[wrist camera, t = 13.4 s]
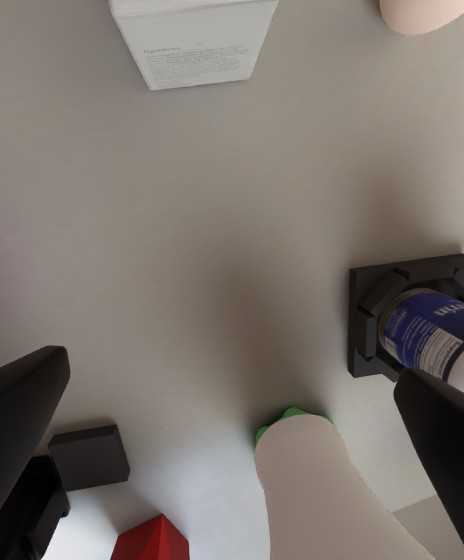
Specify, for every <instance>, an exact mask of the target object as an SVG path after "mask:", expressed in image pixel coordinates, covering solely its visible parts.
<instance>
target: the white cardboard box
mask: <svg viewBox="0 0 464 560" xmlns="http://www.w3.org/2000/svg"><path fill="white" fill-rule="evenodd" d="M278 2H279V0H108V4H109V8H110V11H111V14H112V16H113V18H114V19H115V21H116V24H117V26H118V28H119V30H120V32H121V34H122V36H123V38H124V40H125V42H126V44H127V46H128V48H129V50H130V52H131V54H132V56H133V59H134V60H135V62H136V64H137V67H138V69H139V71H140V72H141V74H142V76H143V78H144V80H145V82H146V84H147V86H148V88H149V90H151V91H155V90H162V89H170V88H177V87H186V86H195V85H204V84H213V83H221V82H229V81H238V80H245V79H249V78H250V76H251V73H252V71H253V68H254V65H255V63H256V60H257V58H258V55H259V52H260V49H261V47H262V44H263V41H264V39H265V36H266V33H267V31H268V28H269V25H270V23H271V20H272V17H273V14H274V12H275V9H276V7H277V4H278Z"/></svg>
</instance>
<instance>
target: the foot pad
mask: <svg viewBox="0 0 464 560" xmlns="http://www.w3.org/2000/svg"><path fill="white" fill-rule="evenodd" d="M416 288H426V289H431V290H434V291H437V292H439V293H442V294H444V295H447V296H449V297H451V298H454V299H456V300H459V301H461V302H463V303H464V254H455V255H448V256H440V257H433V258H426V259H419V260H411V261H404V262H397V263H390V264H382V265H375V266H368V267H361V268H353V269H350V298H349V349H348V371H349V373H350V374H351V375H352V376H353V377H354V378H358V377H364V376H370V375H376V374H383V375H385V376H386V377H387V378H388V379H390V380H391V381H392V382H394V383H395V382H396V381H398V378H399V376H400V373H401V371H402V370H403V369H404V368H406V367H405V366H404V365H403V364H402V363H400V362H399V361H398V360H397V359H396V358H395V357H393V356H392V355H391V354H390V353H389V352H388V351H387V350H386V349H385V348H384V347H383V346H382V344H381V343H380V340H379V338H378V333H377V326H378V320H379V317H380V315H381V313H382V312H383V311H384V310H385V309H386V308H387V306H388V305H389V304H390V303H391V302H392V301H393V300H394V299H395V298H396V297H397V296H398V295H399V294H401V293H403V292H405V291H408V290H411V289H416Z"/></svg>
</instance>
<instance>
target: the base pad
mask: <svg viewBox="0 0 464 560" xmlns="http://www.w3.org/2000/svg"><path fill="white" fill-rule="evenodd" d="M48 448H49V450H50V453H51V455H52V458H53V460H54V463H55V465H56V468H57V470H58V473H59V475H60V478H61V480H62V483H63V485H64V488H65V490H66V492H69V491H74V490H80V489H85V488H91V487H96V486H102V485H107V484H113V483H118V482H124V481H127V480H128V476H129V473H130V468H129V465H128V461H127V458H126V454H125V451H124V448H123V444H122V441H121V437H120V434H119V431H118V427H117V425H113V426H107V427H101V428H95V429H89V430H83V431H77V432H71V433H65V434H59V435H54V436H53V438H52V439H51V441H50V443H49V444H48Z"/></svg>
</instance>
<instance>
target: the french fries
mask: <svg viewBox="0 0 464 560" xmlns="http://www.w3.org/2000/svg"><path fill="white" fill-rule="evenodd" d="M110 560H190V556H189V542H188V541H187V540H186V539H185V538H184V537H183V536H182V534H181V533H180V532H179V531H178V530H177V529H176V528H175V527H174V526H173V525H172V524H171V522H170V521H169V520H168V519H167V518H166V517H165V516H164V515H163V514H162V515H160V516H158V517H156V518H154V519H152V520H150V521H148V522H145V523H143V524H141V525H139V526H137V527H135V528H133V529H131V530H129V531H127V532H125V533H123V534H121V535H119V536H118V538H117V541H116V544H115V547H114V550H113V553H112V556H111V559H110Z"/></svg>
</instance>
